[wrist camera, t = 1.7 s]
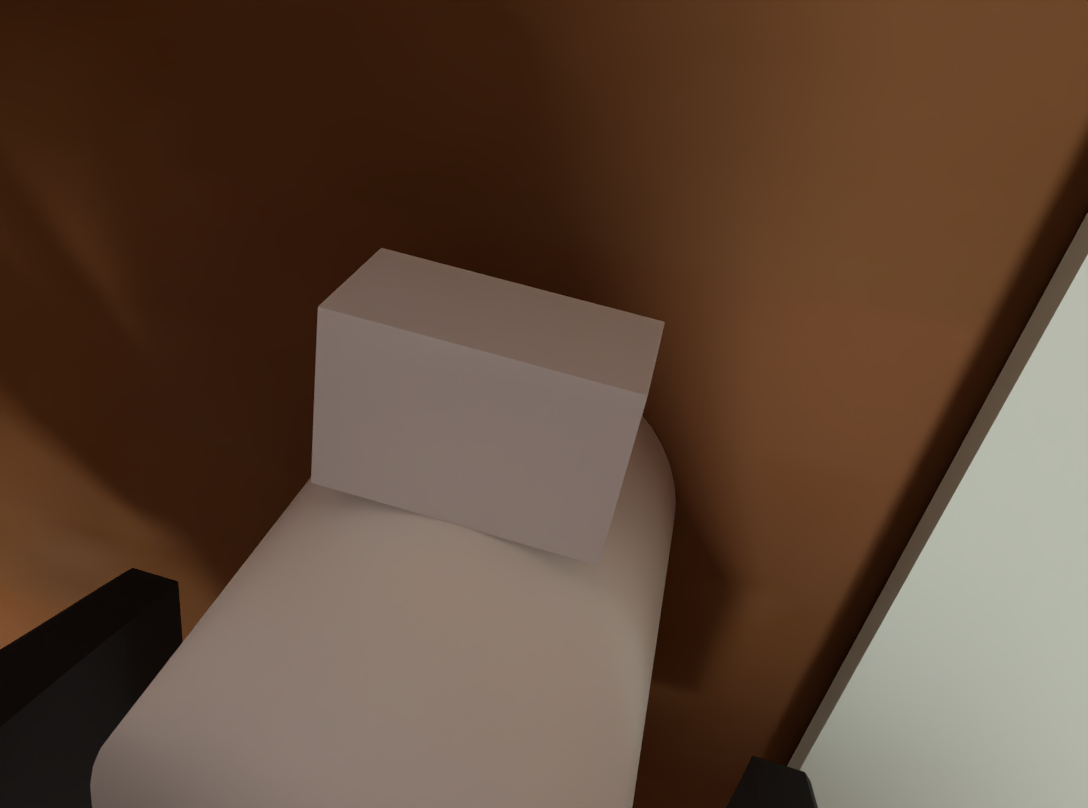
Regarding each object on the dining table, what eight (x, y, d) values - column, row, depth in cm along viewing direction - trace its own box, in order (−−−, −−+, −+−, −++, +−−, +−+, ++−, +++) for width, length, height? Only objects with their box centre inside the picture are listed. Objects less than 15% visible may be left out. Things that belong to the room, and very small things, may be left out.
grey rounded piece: (561, 854, 14) (474, 1264, 10) (331, 780, 14) (154, 1144, 10) (764, 261, 8) (761, 629, 4) (376, 163, 9) (20, 413, 5)
